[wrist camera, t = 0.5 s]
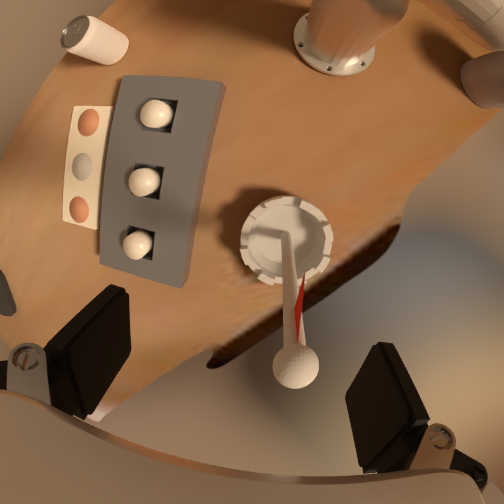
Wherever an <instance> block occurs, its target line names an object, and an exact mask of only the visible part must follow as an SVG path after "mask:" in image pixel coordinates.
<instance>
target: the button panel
mask: <svg viewBox="0 0 504 504" xmlns="http://www.w3.org/2000/svg"><path fill="white" fill-rule="evenodd" d="M225 89H226V87H225V86H224V85H223V83H222V82H217V81H209V80H201V79H191V78H180V77H165V76H123V77H122V81H121V85H120V89H119V93H118V97H117V101H116V106H115V111H114V115H113V120H112V126H111V131H110V137H109V143H108V149H107V156H106V164H105V172H104V181H103V191H102V204H101V220H100V264H102V265H105V266H108V267H111V268H114V269H117V270H121V271H124V272H127V273H130V274H133V275H137V276H140V277H143V278H146V279H150V280H153V281H156V282H160V283H163V284H167V285H170V286H174V287H177V288H181V289H182V287H183V286H184V284H185V283H186V281H187V279H188V273H189V266H190V260H191V253H192V247H193V241H194V235H195V229H196V223H197V217H198V212H199V206H200V201H201V196H202V190H203V185H204V180H205V175H206V170H207V166H208V161H209V156H210V152H211V147H212V143H213V138H214V134H215V129H216V125H217V121H218V117H219V113H220V109H221V105H222V101H223V97H224V93H225ZM151 100H159V101H162V102H165V103H167V104H169V105H171V106H172V108H173V110H174V119H173V121H172V123H171V124H170V125H169V126H167V127H165V128H161V129H159V128H152V127H147V126H145V125H144V124H143V123H142V121H141V118H140V113H141V109H142V108H143V106H144V105H145V104H146V103H147V102H149V101H151ZM147 167H153V168H155V169H157V170H158V171H159V173H160V175H161V178H162V182H161V186H160V188H159V189H158V190H157V191H155V192H153V193H151V194H148V195H146V196H142V197H140V196H136V195H134V194H133V193H132V192H131V190H130V188H129V177H130V175H131V174H132V173H133V172H134V171H135V170H137V169H142V168H147ZM138 229H145V230H147V231H148V232H149V233H150V234H151V235H152V237H153V241H154V244H153V247H152V249H151V250H150V251H149V252H148V253H147V254H145V255H144V256H143V257H142V258H141V259H138V260H135V259H131V258H130V257H128V256H127V255H126V253H125V251H124V249H123V242H124V239H125V238H126V237H127V236H129V235H130V234H132V233H133V232H135V231H136V230H138Z"/></svg>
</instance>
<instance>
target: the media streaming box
mask: <svg viewBox="0 0 504 504" xmlns="http://www.w3.org/2000/svg"><path fill="white" fill-rule="evenodd" d="M14 313H16V305H15V302H14V300H13V297H12V294H11V291H10V289H9V286H8V283H7V280H6V278H5V276H4V274H3V273H2V271H1V270H0V314H1V315H4V316H12V315H13V314H14Z"/></svg>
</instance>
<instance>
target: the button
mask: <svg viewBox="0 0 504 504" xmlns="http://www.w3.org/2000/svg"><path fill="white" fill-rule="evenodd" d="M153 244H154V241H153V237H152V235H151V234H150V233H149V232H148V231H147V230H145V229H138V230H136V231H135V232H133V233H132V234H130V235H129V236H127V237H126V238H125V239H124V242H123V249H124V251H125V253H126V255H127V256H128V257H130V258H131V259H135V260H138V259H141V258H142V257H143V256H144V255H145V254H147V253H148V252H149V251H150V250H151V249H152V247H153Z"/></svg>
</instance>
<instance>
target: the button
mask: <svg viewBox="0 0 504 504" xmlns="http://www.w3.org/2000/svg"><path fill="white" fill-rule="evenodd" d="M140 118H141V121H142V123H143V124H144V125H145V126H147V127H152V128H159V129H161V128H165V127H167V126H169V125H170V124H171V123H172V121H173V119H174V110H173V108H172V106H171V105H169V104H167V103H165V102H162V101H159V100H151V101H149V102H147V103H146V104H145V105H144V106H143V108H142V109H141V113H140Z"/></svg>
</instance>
